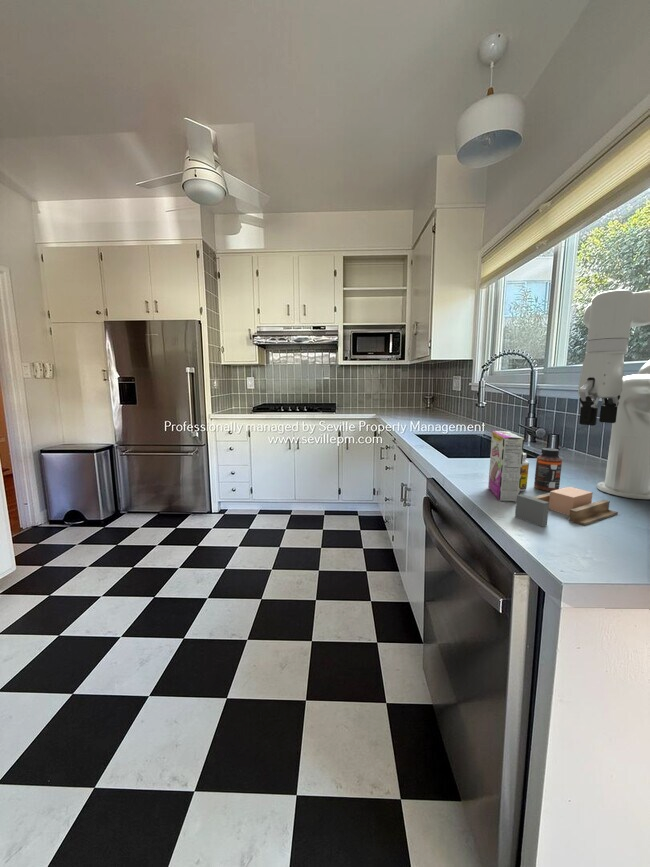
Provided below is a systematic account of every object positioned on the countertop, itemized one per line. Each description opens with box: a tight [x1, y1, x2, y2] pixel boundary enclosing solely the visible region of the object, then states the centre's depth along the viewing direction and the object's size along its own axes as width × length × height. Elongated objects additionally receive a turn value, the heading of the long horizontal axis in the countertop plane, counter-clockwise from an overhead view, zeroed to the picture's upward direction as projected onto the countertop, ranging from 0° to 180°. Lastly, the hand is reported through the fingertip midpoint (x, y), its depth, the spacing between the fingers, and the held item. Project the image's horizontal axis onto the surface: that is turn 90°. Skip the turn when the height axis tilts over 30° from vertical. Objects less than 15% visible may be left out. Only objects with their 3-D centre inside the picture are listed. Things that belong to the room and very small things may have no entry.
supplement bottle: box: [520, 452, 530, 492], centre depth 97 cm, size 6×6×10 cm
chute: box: [532, 492, 618, 526], centre depth 81 cm, size 14×13×2 cm
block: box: [549, 486, 594, 516], centre depth 81 cm, size 8×5×4 cm, turn 118°
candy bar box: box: [487, 430, 525, 503], centre depth 91 cm, size 11×5×16 cm, turn 169°
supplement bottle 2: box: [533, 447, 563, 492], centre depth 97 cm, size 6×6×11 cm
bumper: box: [514, 493, 550, 528], centre depth 74 cm, size 2×6×5 cm, turn 28°
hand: (597, 423), depth 82 cm, fingers open, 8 cm apart
